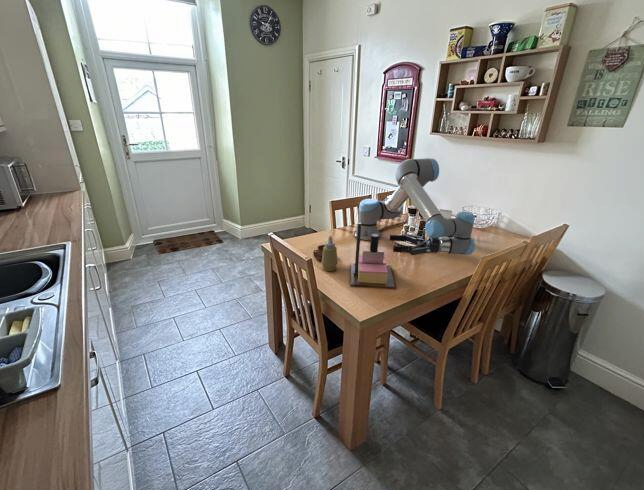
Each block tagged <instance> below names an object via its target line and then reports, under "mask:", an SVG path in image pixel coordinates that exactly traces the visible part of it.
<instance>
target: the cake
mask: <svg viewBox="0 0 644 490" xmlns="http://www.w3.org/2000/svg"><path fill="white" fill-rule="evenodd" d="M362 257H363V254H362V255H361V254H359V263H358V281H359V282H363V283H381V284H387V277H388V270H387V266H386V265H387V261H386V258H385V257H386V256H384V260H383V265H382V264H362Z"/></svg>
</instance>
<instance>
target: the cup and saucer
mask: <svg viewBox="0 0 644 490" xmlns="http://www.w3.org/2000/svg"><path fill="white" fill-rule="evenodd" d="M324 246H325V244H321V245H320V244H319V245H318V246H317V249H314V250H313V252H312V255H313V258H315V259H316V260H318V261H322V255H323V248H324Z"/></svg>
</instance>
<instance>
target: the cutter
mask: <svg viewBox="0 0 644 490" xmlns="http://www.w3.org/2000/svg"><path fill="white" fill-rule="evenodd" d="M379 240H380V234H379V235H378V234H372V235H371V240H370V244H369V250H362V256H363V257H362V264H382V265H383V260H384V257H385V251H383V250H379Z"/></svg>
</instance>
